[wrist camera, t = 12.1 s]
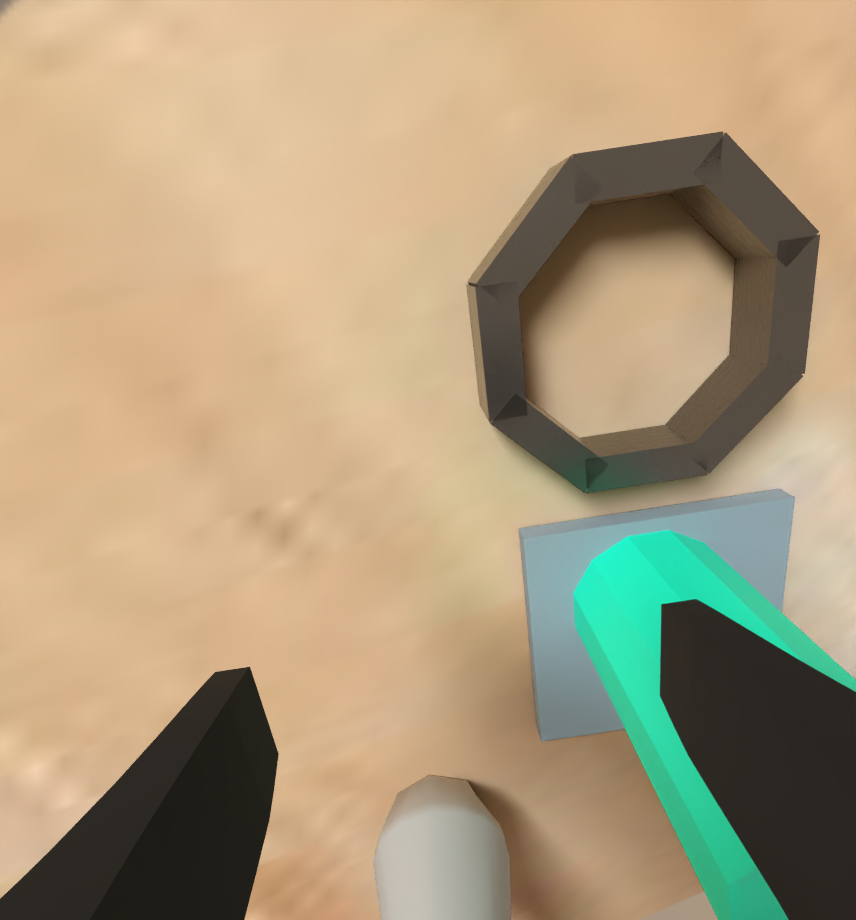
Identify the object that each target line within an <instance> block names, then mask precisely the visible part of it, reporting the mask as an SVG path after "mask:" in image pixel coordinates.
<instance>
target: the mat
mask: <svg viewBox="0 0 856 920" xmlns="http://www.w3.org/2000/svg"><path fill="white" fill-rule="evenodd" d="M794 499H795V497H793V496H791V495H790V494H788V493H786V492H785V491H783V490H781V489H775V490H768V491H762V492H755V493H749V494H742V495H736V496H729V497H722V498H716V499H709V500H703V501H696V502H690V503H683V504H676V505H670V506H663V507H657V508H650V509H644V510H637V511H630V512H624V513H617V514H611V515H604V516H598V517H591V518H584V519H578V520H571V521H565V522H558V523H552V524H545V525H538V526H532V527H525V528H519V536H520V547H521V558H522V569H523V580H524V591H525V602H526V613H527V624H528V634H529V645H530V656H531V667H532V678H533V689H534V700H535V711H536V722H537V728H538V732H539V735H540V738H541V742H543V741H550V740H556V739H563V738H569V737H576V736H582V735H589V734H596V733H602V732H609V731H615V730H622V729H625V728H624V726H623V724H622V722H621V719H620V717H619V715H618V713H617V711H616V709H615V707H614V705H613V703H612V701H611V699H610V697H609V695H608V693H607V691H606V689H605V687H604V685H603V683H602V681H601V679H600V677H599V674H598V672H597V670H596V668H595V666H594V664H593V662H592V660H591V658H590V656H589V654H588V652H587V650H586V648H585V646H584V644H583V642H582V640H581V638H580V636H579V634H578V632H577V629H576V627H575V616H574V599H573V593H574V591H575V589H576V588H577V586H578V584H579V582H580V580H581V579H582V577H583V575H584V573H585V572H586V570H587V568H588V566H589V564H590V563H591V561H592V560H593V559H594V558H596V557H597V556H599V555H600V554H602V553H603V552H605V551H606V550H608V549H609V548H611V547H612V546H614V545H615V544H617V543H618V542H620V541H621V540H623V539H624V538H626V537H627V536H632V535H639V534H645V533H652V532H658V531H665V530H671V531H674V532H676V533H679V534H682V535H685V536H688V537H690V538H693V539H696V540H699V541H701V542H704V543H705V544H706V545H708V546H709V547H710V548H711V549H712V550H713V551H714V552H715V553H716V554H717V555H719V556H720V557H721V558H722V559H723V560H724V561H725V562H726V563H727V564H728V565H730V566H731V567H732V568H733V569H734V570H735V571H736V572H737V573H738V574H739V575H741V576H742V577H743V578H744V579H745V580H746V581H747V582H748V583H749V584H750V585H752V586H753V587H754V588H755V589H756V590H757V591H758V592H759V593H760V594H761V595H763V596H764V597H765V598H766V599H767V600H768V601H769V602H770V603H771V604H772V605H774V606H775V607H776V608H777V609H778V610H779V611H780V612H781V613H782V606H783V597H784V588H785V579H786V570H787V561H788V552H789V544H790V535H791V526H792V517H793V508H794Z"/></svg>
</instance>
